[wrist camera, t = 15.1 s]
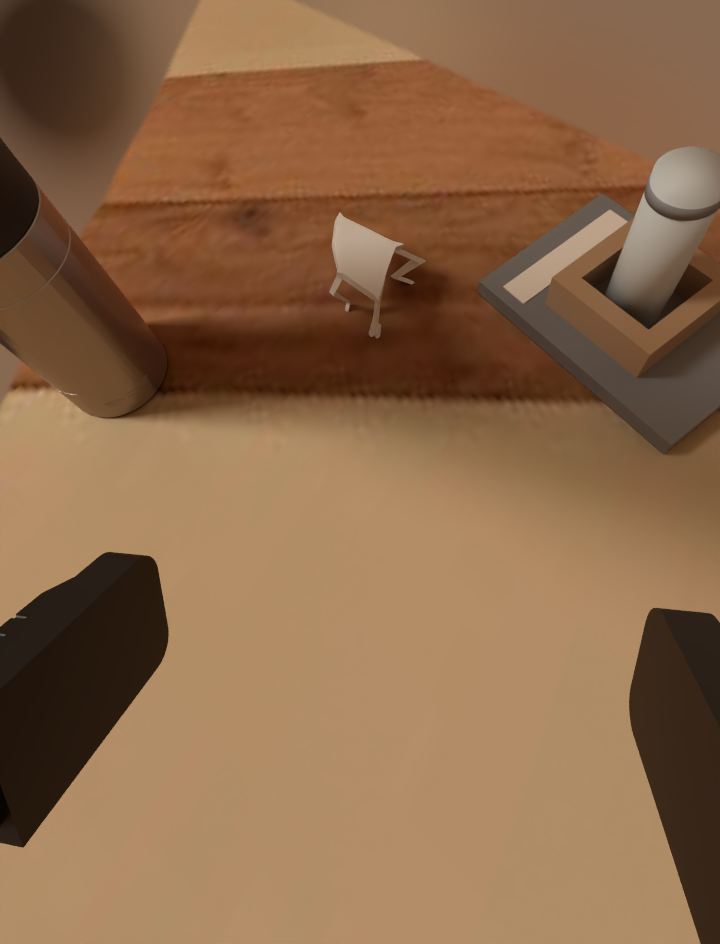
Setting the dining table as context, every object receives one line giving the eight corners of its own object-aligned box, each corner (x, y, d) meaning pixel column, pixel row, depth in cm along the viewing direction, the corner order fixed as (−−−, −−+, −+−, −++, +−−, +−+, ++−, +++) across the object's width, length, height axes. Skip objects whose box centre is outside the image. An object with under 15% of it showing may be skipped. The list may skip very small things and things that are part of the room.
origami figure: (447, 301, 48) (448, 259, 44) (369, 353, 47) (362, 316, 43) (368, 224, 53) (361, 180, 48) (296, 271, 52) (282, 230, 47)
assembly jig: (478, 293, 48) (481, 254, 44) (597, 207, 50) (611, 162, 45) (663, 454, 40) (689, 425, 36) (797, 345, 42) (835, 306, 38)
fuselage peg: (588, 305, 44) (635, 173, 33) (630, 274, 45) (690, 135, 34) (632, 340, 42) (696, 213, 31) (675, 308, 43) (753, 172, 32)
